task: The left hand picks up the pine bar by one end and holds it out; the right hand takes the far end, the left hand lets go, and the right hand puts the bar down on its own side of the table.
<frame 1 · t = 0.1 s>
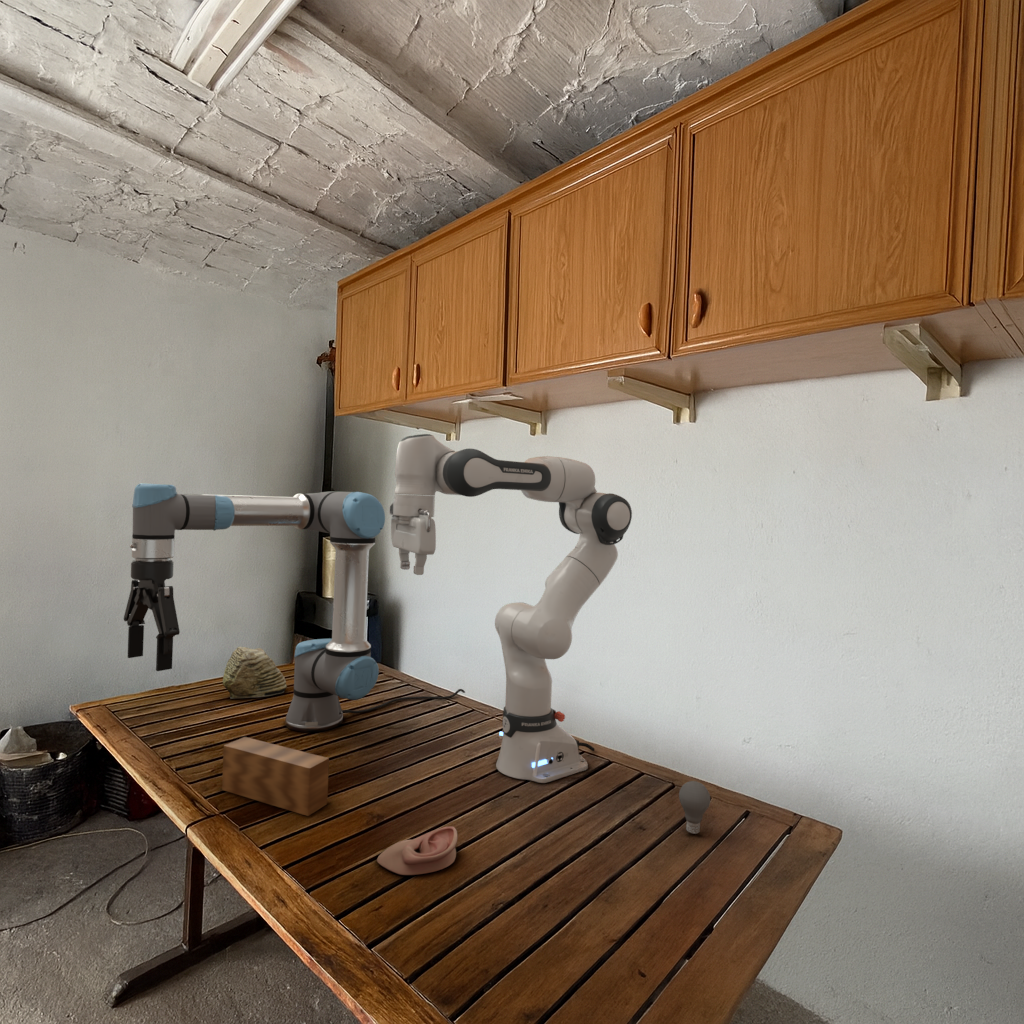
left hand: (149, 663, 129), 28 cm above the table, tool pointing down, fingers open, 13 cm apart
right hand: (411, 571, 138), 48 cm above the table, tool pointing down, fingers open, 8 cm apart
light bulb: (692, 833, 125), on the table
bar: (273, 796, 133), on the table
anatomical model: (417, 858, 112), on the table
fossil: (254, 694, 198), on the table
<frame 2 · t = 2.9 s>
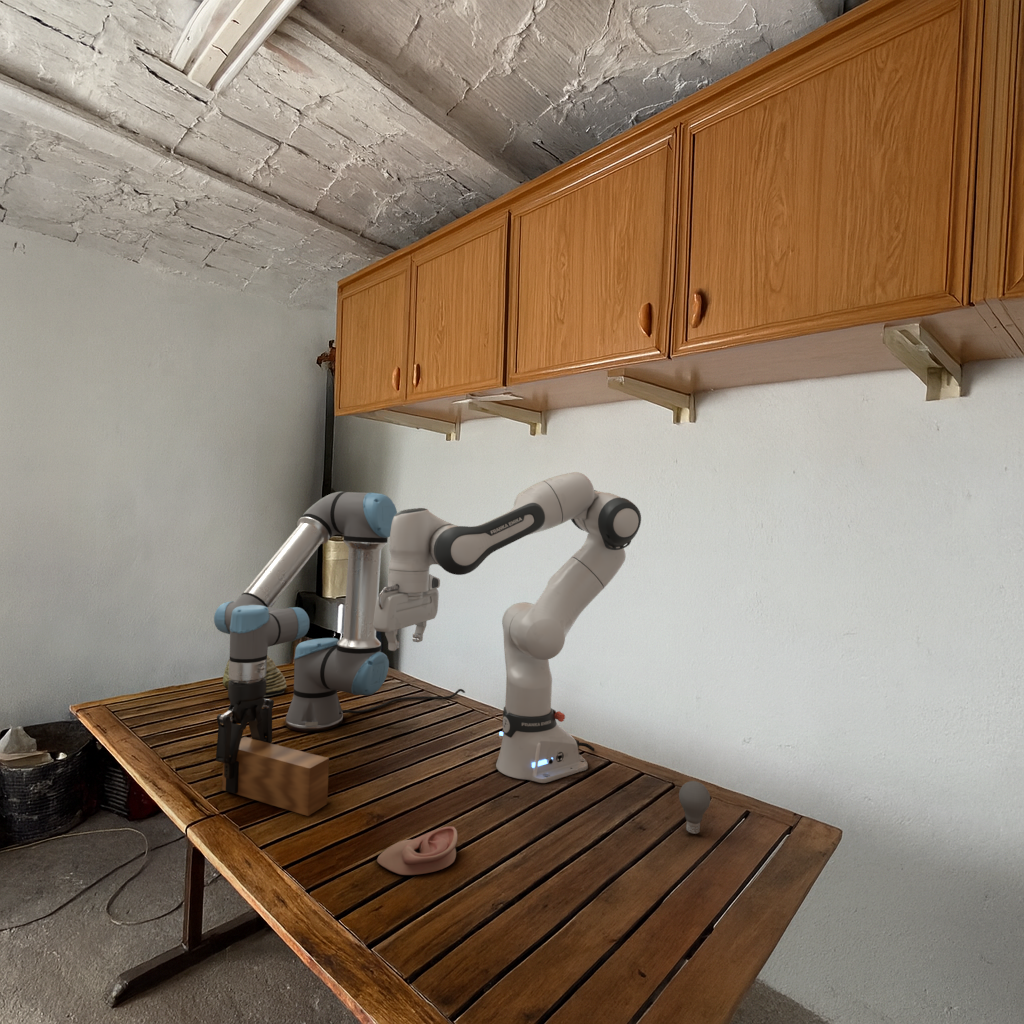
left hand: (243, 785, 136), 1 cm above the table, tool pointing down, fingers closed on bar, 6 cm apart
right hand: (405, 645, 138), 32 cm above the table, tool pointing down, fingers open, 8 cm apart
bar: (273, 796, 133), on the table, touching left hand
everything else where it was.
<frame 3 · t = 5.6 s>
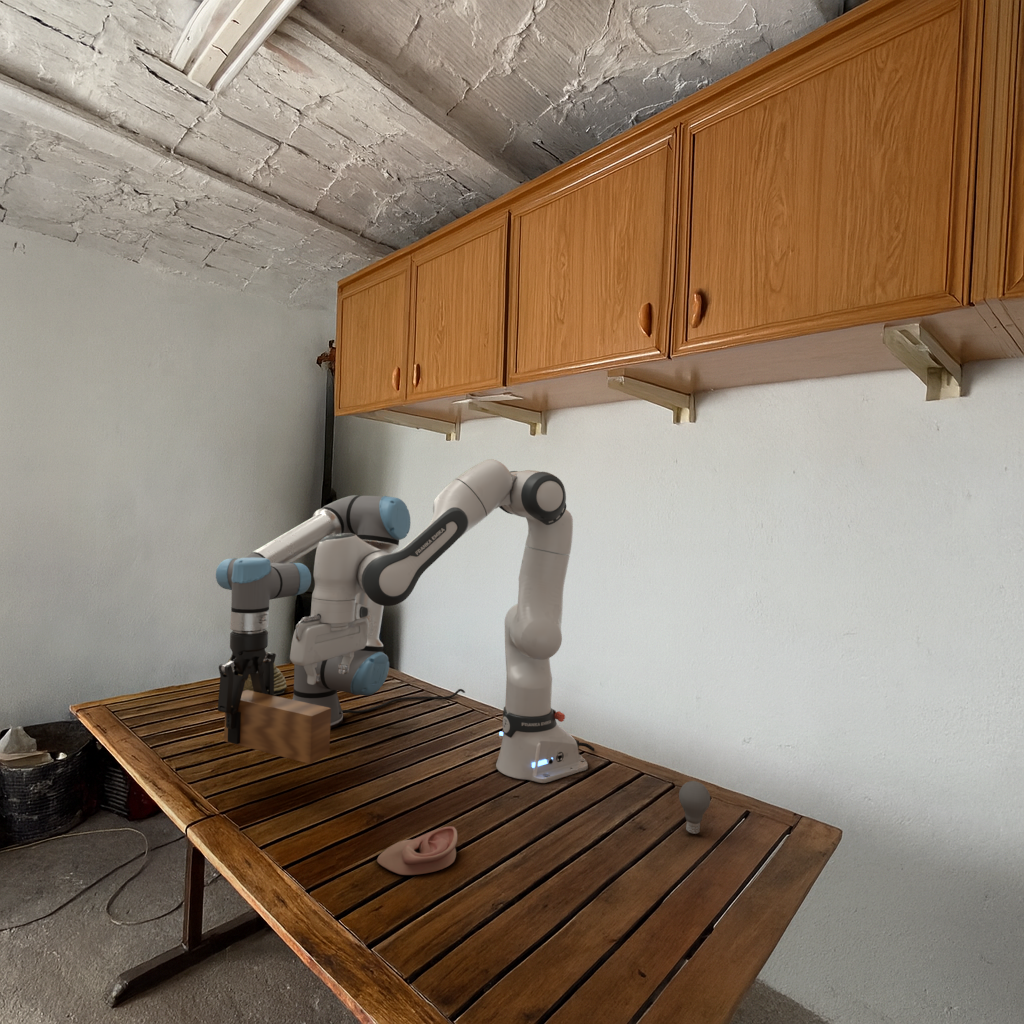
left hand: (245, 737, 136), 11 cm above the table, tool pointing down, fingers closed on bar, 6 cm apart
right hand: (328, 678, 131), 26 cm above the table, tool pointing down, fingers open, 8 cm apart
bar: (275, 747, 133), point 10 cm above the table, touching left hand
everything else where it was.
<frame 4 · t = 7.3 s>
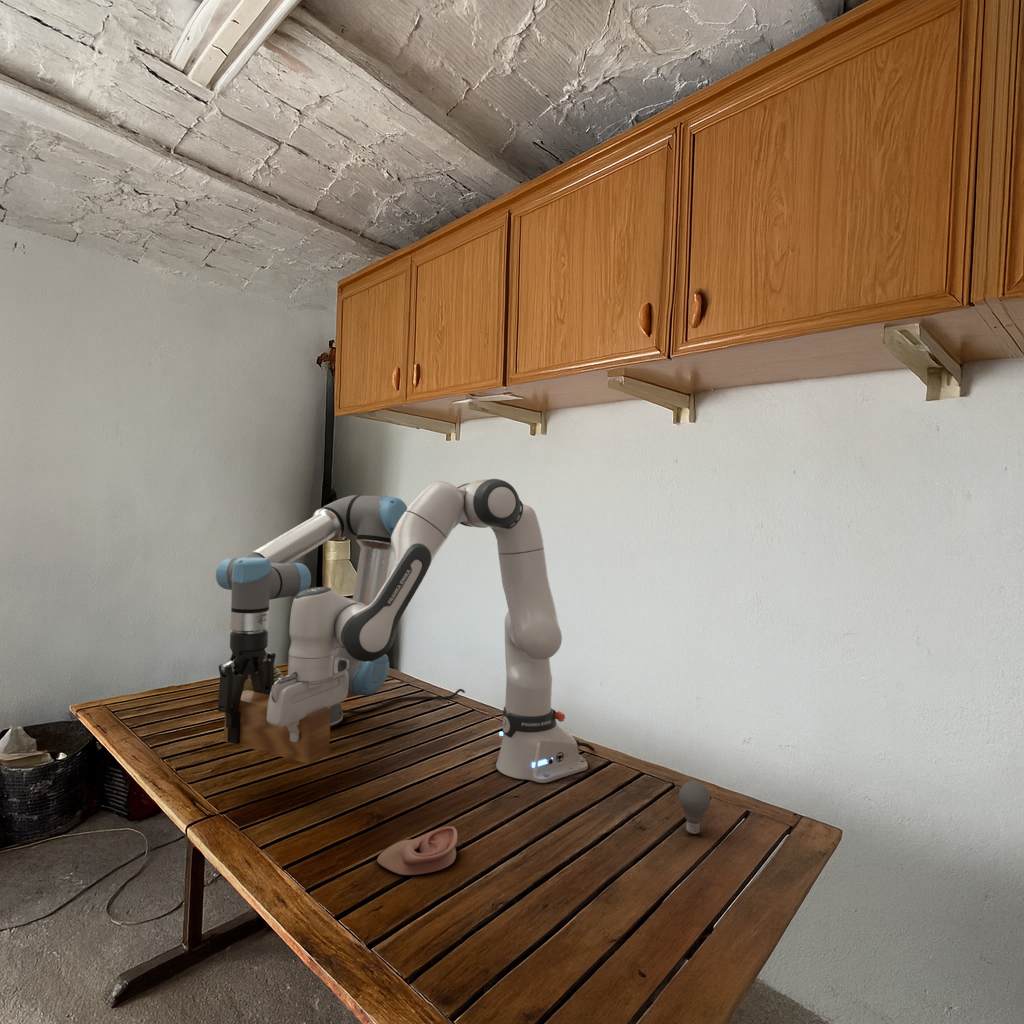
left hand: (245, 737, 136), 11 cm above the table, tool pointing down, fingers closed on bar, 6 cm apart
right hand: (308, 734, 129), 15 cm above the table, tool pointing down, fingers closed on bar, 6 cm apart
bar: (275, 747, 133), point 10 cm above the table, touching left hand, right hand
everything else where it was.
when the left hand's fingers open (11 cm above the table, at t = 8.4 s): bar stays where it is, held by the right hand.
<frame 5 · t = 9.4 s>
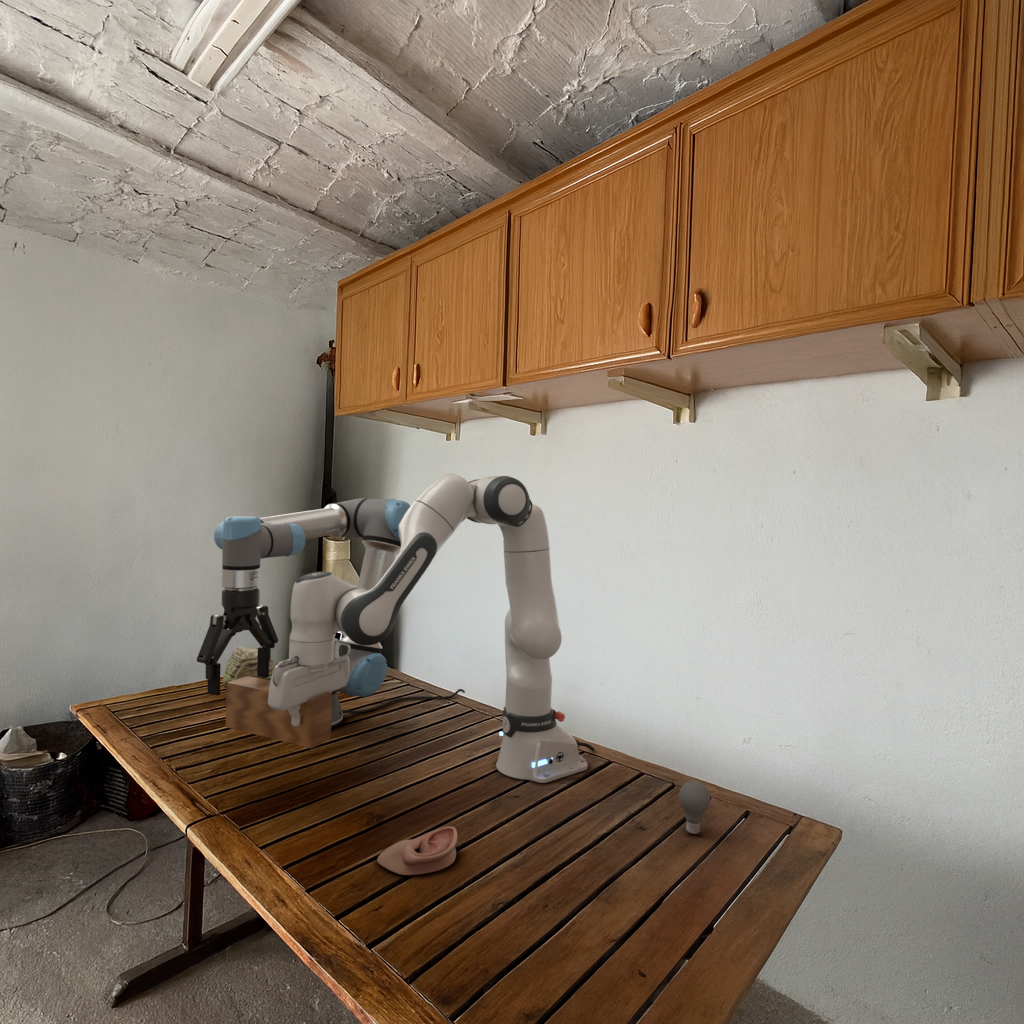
left hand: (239, 685, 137), 22 cm above the table, tool pointing down, fingers open, 13 cm apart
right hand: (309, 719, 129), 18 cm above the table, tool pointing down, fingers closed on bar, 6 cm apart
bar: (277, 732, 133), point 14 cm above the table, touching right hand
everything else where it was.
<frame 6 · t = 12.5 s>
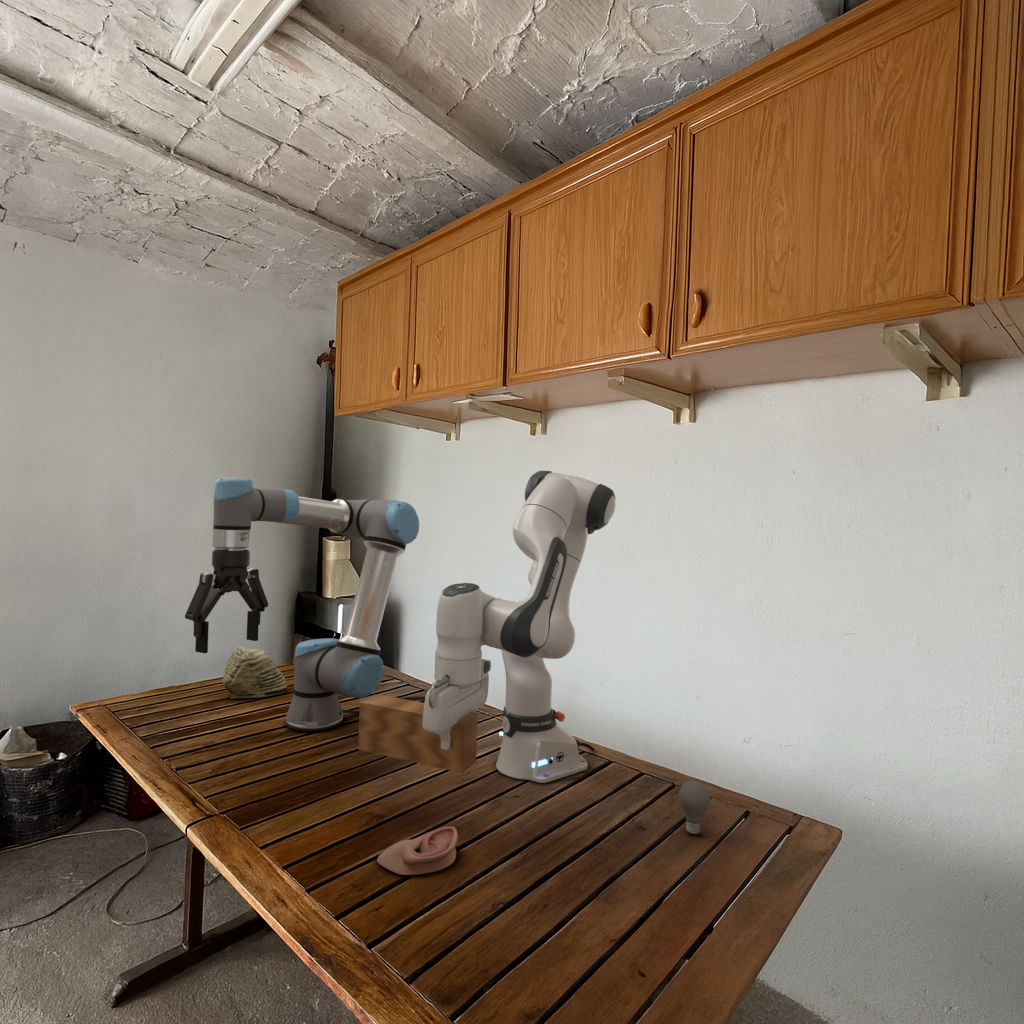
left hand: (227, 646, 138), 30 cm above the table, tool pointing down, fingers open, 13 cm apart
right hand: (455, 741, 121), 18 cm above the table, tool pointing down, fingers closed on bar, 6 cm apart
bar: (416, 755, 124), point 14 cm above the table, touching right hand
everything else where it was.
when the right hand's fingers open (5 cm above the table, at t = 17.5 s): bar stays where it is, on the table.
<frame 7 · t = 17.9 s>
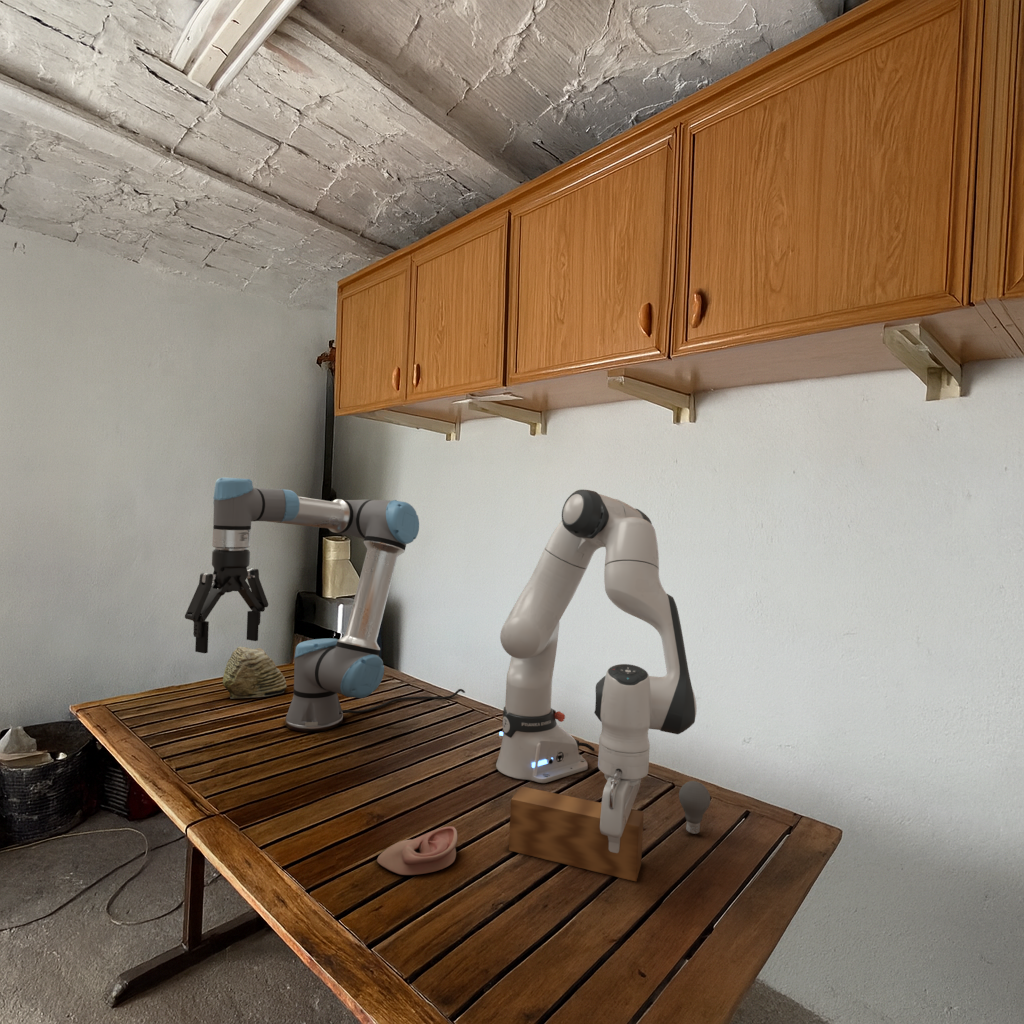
left hand: (227, 646, 138), 30 cm above the table, tool pointing down, fingers open, 13 cm apart
right hand: (619, 837, 112), 6 cm above the table, tool pointing down, fingers open, 8 cm apart
bar: (574, 857, 115), on the table
everything else where it was.
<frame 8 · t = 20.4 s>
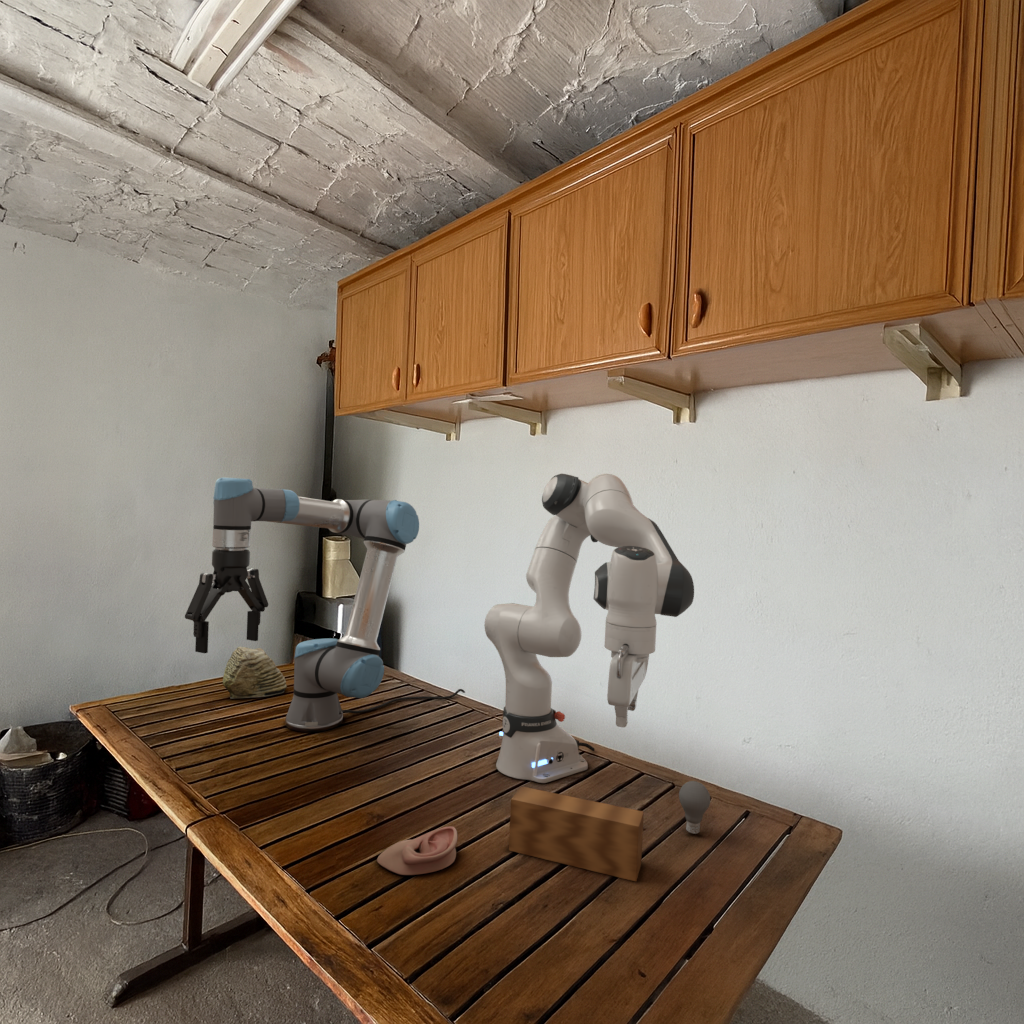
left hand: (227, 646, 138), 30 cm above the table, tool pointing down, fingers open, 13 cm apart
right hand: (626, 717, 112), 27 cm above the table, tool pointing down, fingers open, 8 cm apart
nothing on the table moved.
at the end: bar inside the target area (8.2 cm from its centre), on the table; the left hand is holding nothing; the right hand is holding nothing; bar at rest at the end (0.0 cm/s) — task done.
